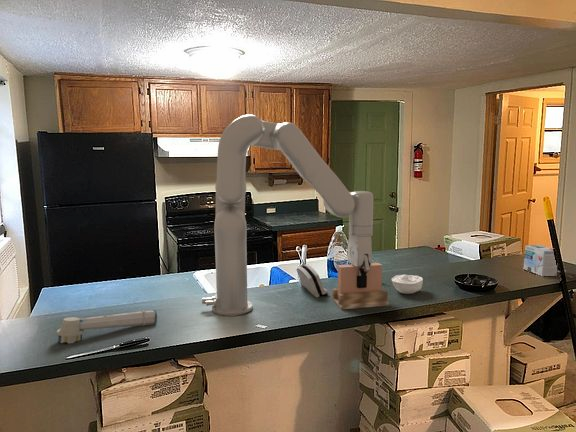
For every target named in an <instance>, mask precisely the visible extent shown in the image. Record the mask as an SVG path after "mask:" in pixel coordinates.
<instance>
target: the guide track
mask: <svg viewBox="0 0 576 432" xmlns="http://www.w3.org/2000/svg"><path fill="white" fill-rule="evenodd" d="M337 292H338V287H337V288H335V287H334V288H332V296H331V295H330V296H331V300H332V301H333V302H334V303H335V304H336V305H337V307H338V308H339V309H340V310H349V309H351V310H352V309H362V308H375V307H388V306H390V302H389V301H388V291H387V290H382V291H374V292H361V293H348V294H338V295H337Z"/></svg>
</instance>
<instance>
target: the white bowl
mask: <svg viewBox="0 0 576 432" xmlns="http://www.w3.org/2000/svg"><path fill="white" fill-rule="evenodd" d="M423 280H424V278H423V277H422V276H419V275H415V274H414V275H412V274H397V275H394V276H393V277H391V282H392V286H393V287H394V289H396V290H397V291H398V292H399V293H401V294H403V295H405V294H406V295H410V294H414V293H416V292H419V291H420V290H421V289H422V287H423V282H424V281H423Z"/></svg>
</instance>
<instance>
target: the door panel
mask: <svg viewBox="0 0 576 432" xmlns="http://www.w3.org/2000/svg"><path fill="white" fill-rule="evenodd" d="M362 266H364V264H362ZM362 269H364V268H361V270H362ZM369 269H370V271H369V272H368V273H367V274H368V275H367V287H366V288H357V276H358V268H357V267H355V266H354V265H352V264H351V263H349V264H338V265H337V288H338V292H337V295H338V294H348V293H361V292H374V291H383V290H382V286H383V285H382V284H383V283H382V282H383V264H382V263H380V262H372V263H371V266H370V267H369Z"/></svg>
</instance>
